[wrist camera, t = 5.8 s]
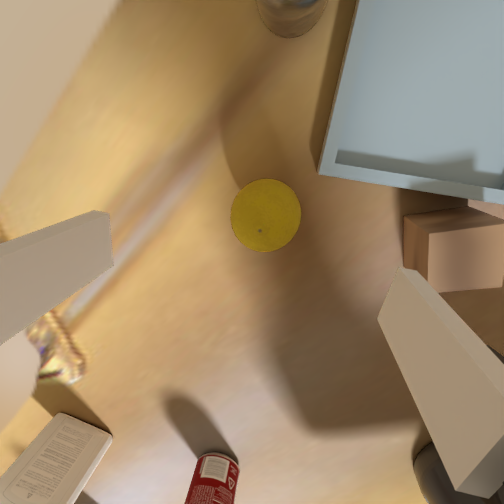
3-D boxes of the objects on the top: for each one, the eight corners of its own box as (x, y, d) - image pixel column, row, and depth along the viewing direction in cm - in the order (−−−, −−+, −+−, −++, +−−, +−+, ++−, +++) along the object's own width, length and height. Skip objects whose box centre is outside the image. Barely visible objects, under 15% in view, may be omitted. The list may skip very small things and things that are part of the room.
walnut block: (467, 205, 22) (511, 222, 18) (462, 259, 24) (501, 286, 20) (403, 215, 23) (429, 233, 19) (403, 266, 25) (426, 293, 21)
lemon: (230, 209, 25) (204, 237, 18) (264, 160, 23) (249, 169, 16) (276, 242, 26) (268, 282, 19) (313, 197, 24) (321, 223, 17)
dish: (629, -47, 16) (673, -72, 14) (498, 201, 22) (517, 206, 20) (372, -70, 17) (381, -95, 15) (316, 171, 23) (318, 174, 21)
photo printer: (55, 422, 44) (-27, 518, 33) (56, 407, 43) (-29, 503, 31) (111, 446, 45) (49, 549, 33) (115, 432, 43) (51, 536, 32)
